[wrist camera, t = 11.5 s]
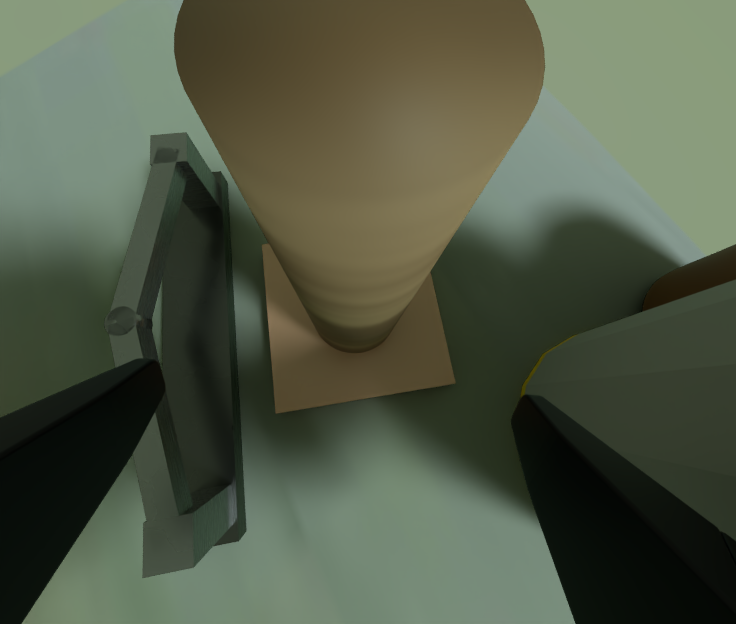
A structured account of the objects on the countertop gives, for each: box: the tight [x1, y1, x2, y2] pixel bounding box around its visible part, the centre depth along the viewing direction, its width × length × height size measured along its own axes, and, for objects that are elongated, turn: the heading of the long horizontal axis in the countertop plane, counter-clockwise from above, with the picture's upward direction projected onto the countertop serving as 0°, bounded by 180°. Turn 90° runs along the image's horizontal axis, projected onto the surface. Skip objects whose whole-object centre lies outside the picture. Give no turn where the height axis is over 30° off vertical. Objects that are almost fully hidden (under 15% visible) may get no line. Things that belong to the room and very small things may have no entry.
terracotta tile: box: [262, 244, 456, 414], centre depth 17 cm, size 9×9×1 cm
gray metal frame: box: [104, 132, 246, 578], centre depth 14 cm, size 19×3×4 cm, turn 9°
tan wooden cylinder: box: [174, 0, 545, 353], centre depth 10 cm, size 4×4×13 cm
